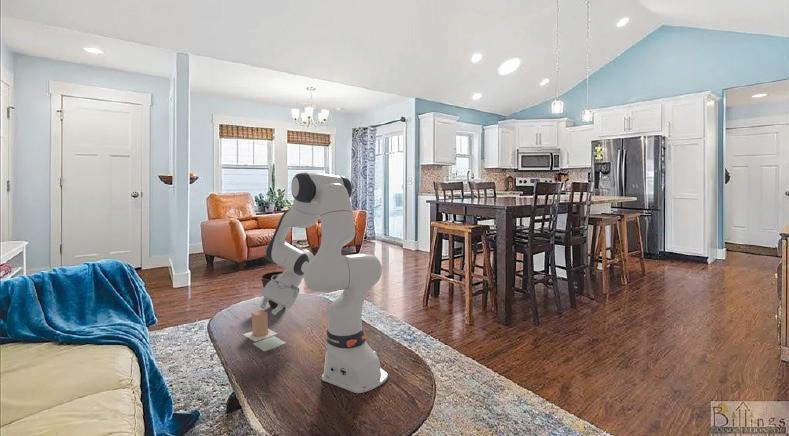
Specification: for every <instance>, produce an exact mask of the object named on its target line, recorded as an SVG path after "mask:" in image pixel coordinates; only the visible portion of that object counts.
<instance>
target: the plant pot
mask: <svg viewBox="0 0 789 436" xmlns="http://www.w3.org/2000/svg"><path fill="white" fill-rule="evenodd" d="M283 272H284V271H272V272H267V273H265V274H262V275H261V282H262V288H263V289H264V287H265V286H266V285H267V283H268V282H269V281H271V277H272V276H273V275H279V274H282V273H283ZM267 303H268V305H269V307H270V308H271V310H273V309H275V308H276V307H277V305H278V304H277V303H275V302H273V301H271V300H269V301H268V302H267ZM285 308H286V307H283V309H285Z"/></svg>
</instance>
